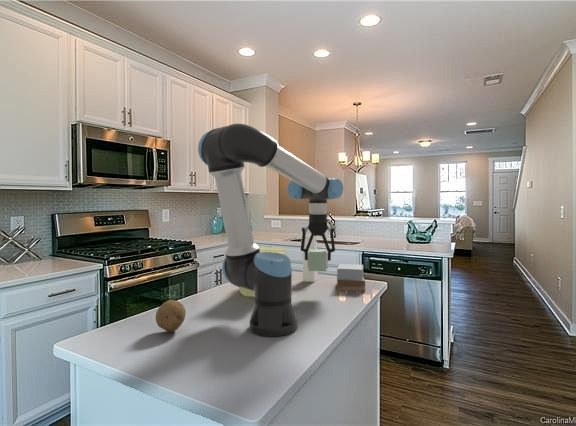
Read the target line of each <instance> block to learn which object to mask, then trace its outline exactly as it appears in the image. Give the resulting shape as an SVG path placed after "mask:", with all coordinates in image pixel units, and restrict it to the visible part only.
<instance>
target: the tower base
mask: <svg viewBox="0 0 576 426" xmlns="http://www.w3.org/2000/svg"><path fill="white" fill-rule="evenodd" d="M336 285H337V286H336V287H337V289H336V290H337V291H338V292H339V291H340V292H366V279H365V277H364V276H363V280H362V281H354V280H337V279H336Z"/></svg>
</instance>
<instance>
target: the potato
mask: <svg viewBox="0 0 576 426" xmlns="http://www.w3.org/2000/svg"><path fill="white" fill-rule="evenodd" d="M185 317H186V307H185V306H184V304H182V303H181V302H180V301H179V300H175V299H169V300H167V301H165V302H163V303H162V304H161V305H160V306H159V307H158V309H157V311H156V313H155V322H156V324H157V326H158V327H159V328H160V329H162V330H164V331H166V332H168V333H173V332H176V330H178V329H179V328H180V327H181V326H182V324H183V322H184V320H185Z"/></svg>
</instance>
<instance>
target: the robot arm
mask: <svg viewBox="0 0 576 426" xmlns="http://www.w3.org/2000/svg"><path fill="white" fill-rule="evenodd" d="M197 152H198V155H199V158H200V160H201V161H202V163H203V162H204V164H205V165H206V166H207V168H208V173H209V174H210V175H211V176H213V177H214V179H215V184H216V188H217V195H218V199H219V205H220V209H221V210H220V211H221V215H222V219H223V225H224V229H225V230H224V231H225V236H226V239H227V245H228V247H227V249H226V250H225V252H224V253H225V257H224V261H223V262H222V264H221V271H222V275H223V276H224V278H225V280H226V281H227V282H228V283H229V284H231V285H234V286H236V287H237V288H239V287H243V288H246V289H250V290H253V291H255V297H254V306H253V309H252V312H251V316H250V319H249V331H250V332H251V333H253V334H255V335H257V336H261V337H262V336H263V337H281V336H287V335H290V334H292V333H294V332H295V331H297V328H298V319H297V315H296V314H295V311H294V307H293V304H292V303H293V302H292V277H293V276H292V273H293V271H292V270H293V269H292V263H291V259H290V257H289V256H287V255H286V254H281V253H276V252H275V253H273V252H260V250H259V247H260V246H259V245H258V244H257V243H255V242H254V237H253V232H252V226H251V221H250V216H249V209H248V203H247V198H246V194H245V187H244V183H243V177H242V172H243V170H244V169H245V168H246V167H245V163H251V164H254V165H257V166H258V167H260V168H265V167H266V168H268V169H271V170H272V171H273V172H275V173H277V174H279V175H281V176H282V177H285V178H286V179H288V180H290V181H289V182H288V184H287V188H286V193H287V195H288V197H289V198H290V199H292V200H308V213H310V214H309V215H308V225H307V226H306V227H305V226H304V227H302V228H301V231H302V235H301V243H300V244H301V245H300V251H301V252H302V253H303V252H305V260H308V268H309V252H308V250H309V247H310V245H311V242H312V239H313V237H317V236H319V237H321V238H322V240H323V244H324V245H325V247H326V270H329V262H330V261H331V260H332V259H331V258H332V253H335V251H336V247H335V246H336V245H335V236H334V232H335V228H334V227H330V226H328V215H327V213H328V200H336V199H340V198H341V197H342V195H343V194H344V185H343V182H342V180H341V179H340V178H334V177H331V178H329V177H328V176H326V175H325V174H323V173H321V172H320V171H318V170H317V169H315V168H314V167H312V166H310V165H308V164H307V163H306V162H304V161H303V160H301V159H300V158H298V157H296V156H295V155H294V154H293V153H291V152H289V151H287V150H285V149H284V148H283V147H281V146H279V143H278V141H277V140H276V139H275V138H273V137H272V136H270V135H269V134H267V133H266V132H264V131H262V130H260V129H258V128H256V127H254V126H251V125H248V124H245V123H232V124H229V125H224V126H221V127H217V128H213V129H210V130H209V131H207V132H205V133H204V134H202V136H201V138H200V139H199V141H198V144H197ZM308 231H309V233H310V236H309V237H310V239H309V242H308V244H307V247H306V249H305V248H304V244H305V237H307V236H306V235H307V232H308ZM327 231H328V233H330V234H329V235H330V243H331V248H330V245H329V241H328V240H327V237H326V234H325V233H327Z"/></svg>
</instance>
